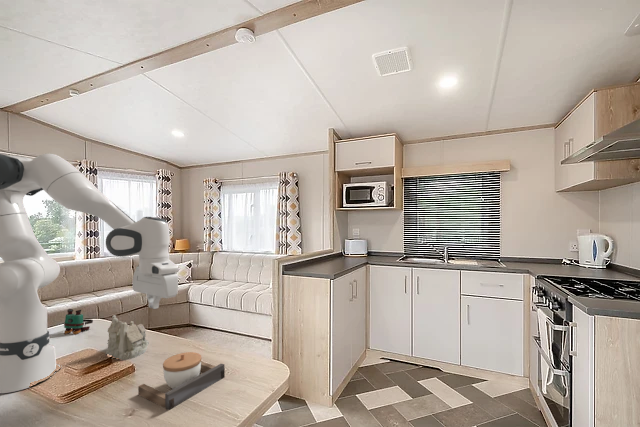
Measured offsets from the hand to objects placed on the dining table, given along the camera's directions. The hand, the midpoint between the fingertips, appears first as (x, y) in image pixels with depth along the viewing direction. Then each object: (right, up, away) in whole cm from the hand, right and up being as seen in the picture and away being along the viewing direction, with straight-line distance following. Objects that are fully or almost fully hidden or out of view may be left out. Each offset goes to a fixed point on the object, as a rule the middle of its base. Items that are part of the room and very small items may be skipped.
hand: (153, 307), depth 100 cm
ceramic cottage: (-19, -23, +19) cm, 35 cm away
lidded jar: (+13, -22, -7) cm, 26 cm away
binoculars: (-57, -24, +41) cm, 74 cm away
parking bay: (+13, -21, -7) cm, 26 cm away
